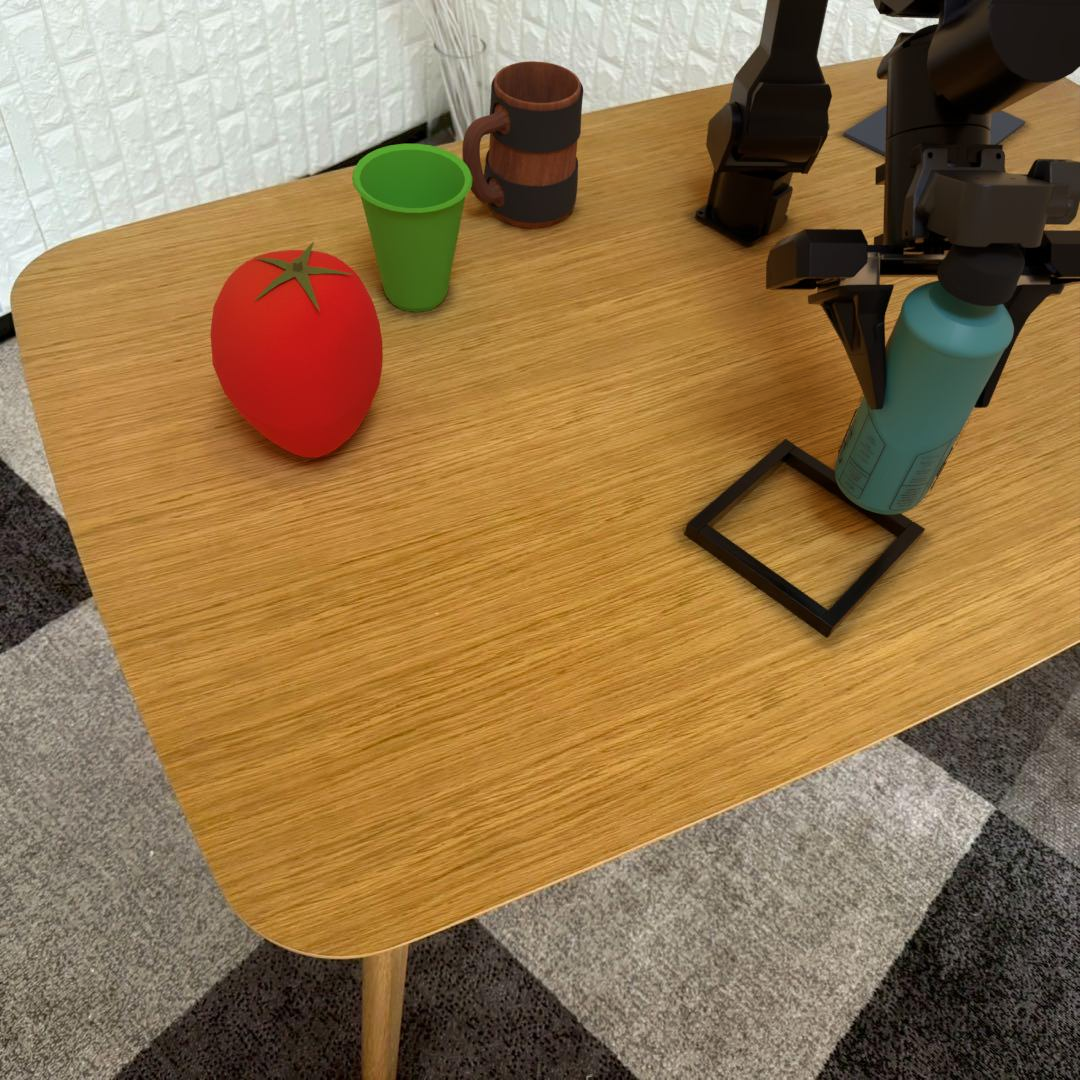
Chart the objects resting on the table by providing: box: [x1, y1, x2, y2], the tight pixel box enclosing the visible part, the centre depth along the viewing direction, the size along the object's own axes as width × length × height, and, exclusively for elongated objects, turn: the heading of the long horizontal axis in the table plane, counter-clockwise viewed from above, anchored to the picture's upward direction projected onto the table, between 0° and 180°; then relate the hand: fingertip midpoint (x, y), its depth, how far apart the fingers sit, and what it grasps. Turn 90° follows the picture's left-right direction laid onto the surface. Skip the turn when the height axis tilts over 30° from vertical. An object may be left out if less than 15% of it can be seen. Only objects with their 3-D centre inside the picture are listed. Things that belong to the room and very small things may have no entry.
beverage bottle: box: [833, 244, 1025, 515], centre depth 62 cm, size 6×7×20 cm
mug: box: [462, 60, 584, 229], centre depth 89 cm, size 9×12×12 cm
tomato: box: [209, 241, 384, 458], centre depth 70 cm, size 13×11×14 cm
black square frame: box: [683, 438, 926, 638], centre depth 71 cm, size 12×12×1 cm
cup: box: [351, 143, 472, 313], centre depth 81 cm, size 9×9×11 cm
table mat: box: [842, 104, 1026, 157], centre depth 109 cm, size 12×18×1 cm, turn 137°
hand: (928, 408), depth 61 cm, fingers closed on beverage bottle, 6 cm apart
